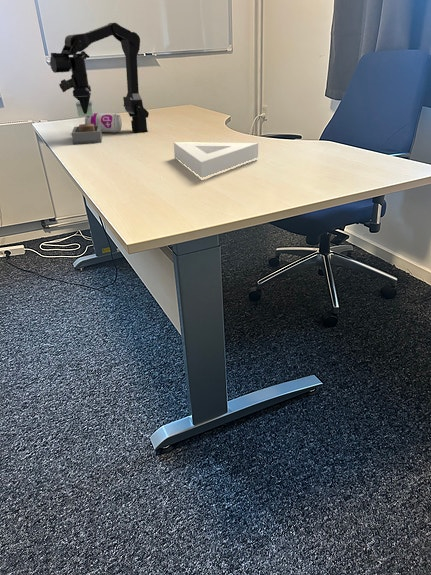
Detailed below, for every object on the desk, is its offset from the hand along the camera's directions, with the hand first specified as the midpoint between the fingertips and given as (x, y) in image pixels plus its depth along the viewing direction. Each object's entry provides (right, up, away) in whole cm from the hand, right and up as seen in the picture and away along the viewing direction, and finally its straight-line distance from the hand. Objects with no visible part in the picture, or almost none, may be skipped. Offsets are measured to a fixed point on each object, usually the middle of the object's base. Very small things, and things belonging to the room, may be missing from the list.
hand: (85, 112), depth 180 cm
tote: (-1, -9, +6) cm, 11 cm away
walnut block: (-1, -8, +6) cm, 10 cm away
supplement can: (-5, +3, +19) cm, 20 cm away
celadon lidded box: (0, -1, 0) cm, 1 cm away
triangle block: (+57, -32, -33) cm, 73 cm away
